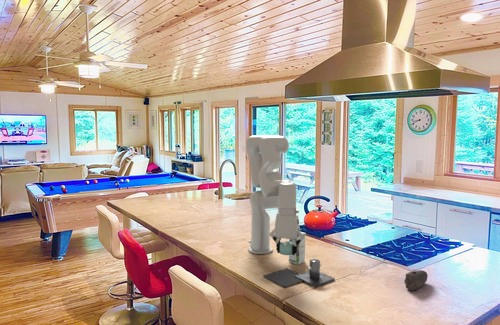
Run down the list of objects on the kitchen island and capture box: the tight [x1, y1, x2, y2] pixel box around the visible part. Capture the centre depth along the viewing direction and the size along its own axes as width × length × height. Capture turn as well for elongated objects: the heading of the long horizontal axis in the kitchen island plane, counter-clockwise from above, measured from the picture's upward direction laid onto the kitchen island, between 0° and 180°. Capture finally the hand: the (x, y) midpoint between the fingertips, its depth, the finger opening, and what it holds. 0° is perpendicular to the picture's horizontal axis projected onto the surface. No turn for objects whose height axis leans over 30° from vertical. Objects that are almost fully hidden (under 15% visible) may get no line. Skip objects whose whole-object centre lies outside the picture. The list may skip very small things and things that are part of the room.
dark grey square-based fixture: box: [294, 258, 336, 288], centre depth 158 cm, size 12×12×8 cm
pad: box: [262, 267, 304, 289], centre depth 160 cm, size 14×14×1 cm
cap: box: [279, 239, 293, 256], centre depth 158 cm, size 6×6×5 cm
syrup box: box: [288, 231, 306, 266], centre depth 178 cm, size 6×6×14 cm
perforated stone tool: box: [403, 269, 428, 292], centre depth 151 cm, size 15×5×7 cm, turn 126°
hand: (286, 252), depth 158 cm, fingers closed on cap, 6 cm apart
